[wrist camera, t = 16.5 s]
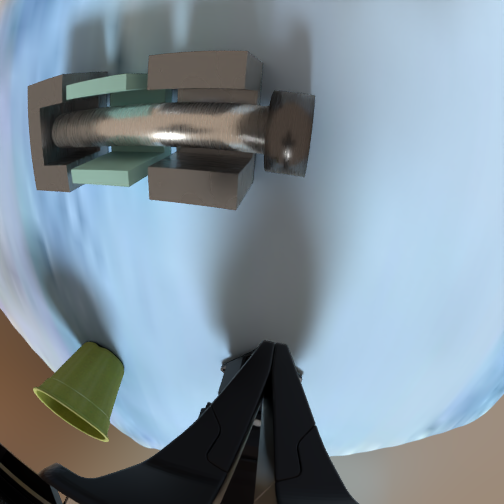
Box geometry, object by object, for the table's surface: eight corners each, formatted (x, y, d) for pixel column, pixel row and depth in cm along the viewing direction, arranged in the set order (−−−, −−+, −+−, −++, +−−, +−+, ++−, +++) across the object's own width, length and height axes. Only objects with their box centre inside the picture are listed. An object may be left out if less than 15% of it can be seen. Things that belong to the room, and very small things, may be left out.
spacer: (173, 75, 16) (126, 73, 11) (171, 161, 19) (129, 186, 14) (118, 81, 16) (66, 85, 11) (119, 159, 19) (72, 183, 15)
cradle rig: (263, 62, 14) (247, 50, 10) (252, 182, 19) (236, 210, 15) (71, 80, 16) (27, 86, 12) (75, 169, 20) (36, 190, 16)
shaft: (313, 95, 14) (316, 94, 11) (304, 166, 17) (303, 188, 13) (82, 97, 16) (41, 106, 12) (85, 151, 18) (46, 168, 15)
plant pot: (69, 348, 37) (34, 398, 28) (77, 315, 31) (30, 378, 22) (128, 390, 39) (100, 445, 30) (151, 368, 33) (116, 439, 24)
